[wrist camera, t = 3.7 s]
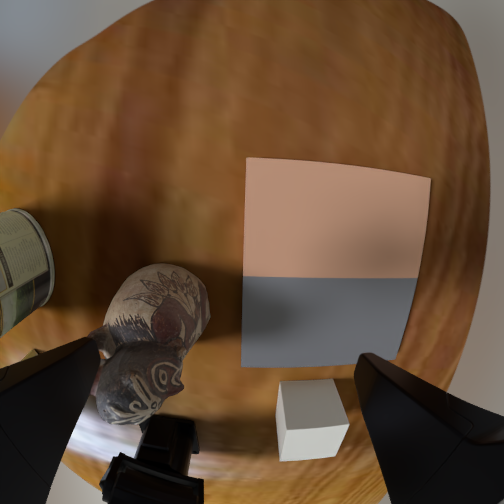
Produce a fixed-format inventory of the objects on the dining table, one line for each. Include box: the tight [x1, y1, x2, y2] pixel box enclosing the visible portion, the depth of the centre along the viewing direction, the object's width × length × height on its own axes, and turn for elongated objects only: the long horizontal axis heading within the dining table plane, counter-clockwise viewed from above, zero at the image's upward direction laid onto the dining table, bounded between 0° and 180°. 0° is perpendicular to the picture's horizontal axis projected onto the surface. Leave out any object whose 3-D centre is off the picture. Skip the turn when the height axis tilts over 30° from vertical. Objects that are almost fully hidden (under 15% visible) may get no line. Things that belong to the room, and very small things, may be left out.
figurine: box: [87, 263, 211, 425], centre depth 15 cm, size 7×7×12 cm
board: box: [241, 158, 431, 367], centre depth 20 cm, size 16×14×1 cm
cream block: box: [275, 379, 349, 461], centre depth 21 cm, size 5×5×6 cm
